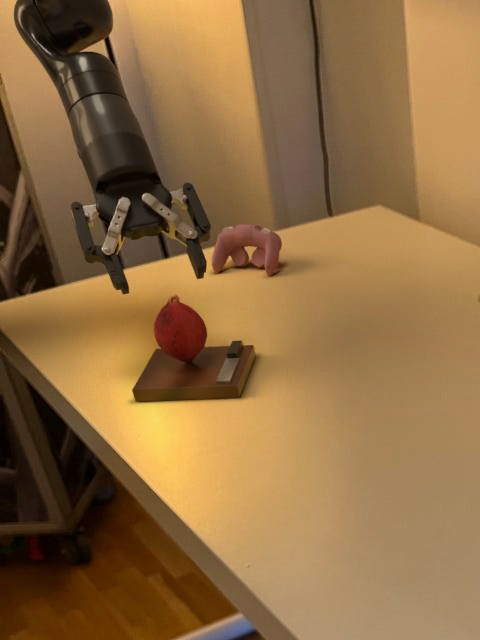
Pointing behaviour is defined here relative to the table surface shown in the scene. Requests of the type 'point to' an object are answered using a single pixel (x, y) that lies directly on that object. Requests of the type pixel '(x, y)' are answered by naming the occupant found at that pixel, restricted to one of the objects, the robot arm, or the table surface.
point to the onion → (180, 330)
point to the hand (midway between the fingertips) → (164, 283)
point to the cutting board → (196, 374)
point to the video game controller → (241, 237)
